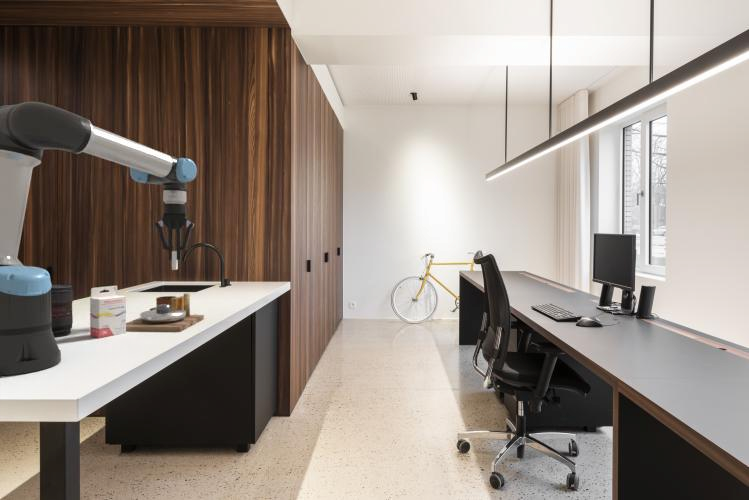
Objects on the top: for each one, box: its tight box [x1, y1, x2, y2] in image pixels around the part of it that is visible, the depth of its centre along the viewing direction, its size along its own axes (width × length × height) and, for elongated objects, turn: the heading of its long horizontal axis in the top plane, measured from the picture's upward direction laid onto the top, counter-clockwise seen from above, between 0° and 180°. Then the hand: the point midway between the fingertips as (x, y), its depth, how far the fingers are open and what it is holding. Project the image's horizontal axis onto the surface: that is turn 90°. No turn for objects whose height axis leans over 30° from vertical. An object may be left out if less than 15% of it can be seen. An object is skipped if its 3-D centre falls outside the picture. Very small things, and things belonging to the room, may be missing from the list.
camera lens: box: [51, 284, 74, 338], centre depth 139 cm, size 8×8×15 cm
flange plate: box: [140, 295, 186, 322], centre depth 157 cm, size 18×14×6 cm
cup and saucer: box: [149, 295, 184, 311], centre depth 176 cm, size 12×12×6 cm
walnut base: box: [126, 292, 205, 333], centre depth 155 cm, size 20×20×10 cm
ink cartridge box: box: [89, 285, 127, 339], centre depth 140 cm, size 9×5×15 cm, turn 150°
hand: (174, 269), depth 163 cm, fingers closed
